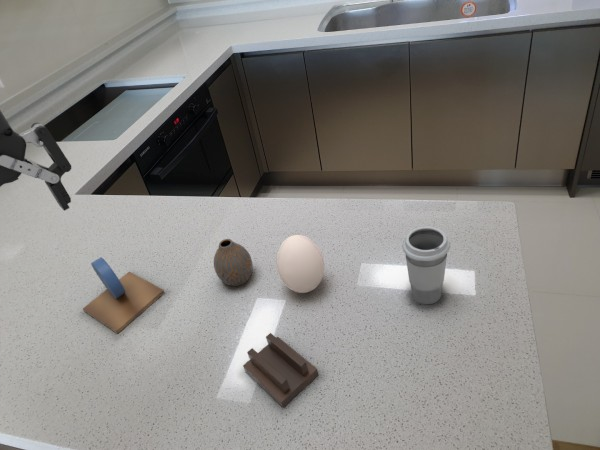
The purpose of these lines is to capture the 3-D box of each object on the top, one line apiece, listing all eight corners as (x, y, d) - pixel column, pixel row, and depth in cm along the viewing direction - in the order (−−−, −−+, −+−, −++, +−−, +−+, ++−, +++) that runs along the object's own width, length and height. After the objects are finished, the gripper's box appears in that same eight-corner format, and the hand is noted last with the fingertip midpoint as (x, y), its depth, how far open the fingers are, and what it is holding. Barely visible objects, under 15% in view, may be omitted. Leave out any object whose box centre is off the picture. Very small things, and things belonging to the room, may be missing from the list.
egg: (337, 283, 81) (328, 234, 74) (305, 311, 77) (292, 262, 70) (306, 265, 86) (295, 217, 79) (274, 290, 82) (260, 242, 75)
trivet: (117, 334, 80) (115, 331, 80) (84, 311, 87) (82, 308, 86) (164, 292, 87) (163, 289, 86) (130, 274, 93) (129, 271, 92)
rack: (283, 408, 64) (277, 392, 61) (245, 371, 70) (238, 355, 67) (318, 374, 67) (314, 358, 65) (279, 342, 73) (274, 326, 71)
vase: (214, 289, 85) (199, 254, 80) (229, 263, 90) (216, 229, 85) (247, 293, 83) (234, 258, 77) (261, 267, 88) (250, 231, 82)
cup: (419, 316, 72) (418, 260, 65) (396, 289, 77) (393, 235, 70) (457, 298, 74) (460, 241, 66) (432, 273, 79) (433, 218, 71)
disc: (119, 305, 87) (111, 288, 80) (96, 274, 89) (87, 256, 83) (128, 298, 88) (121, 281, 81) (105, 268, 90) (97, 250, 84)
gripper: (-137, 138, 40) (-24, 271, 50) (26, 77, 46) (97, 206, 56) (-140, 120, 45) (-37, 244, 55) (8, 67, 51) (76, 187, 61)
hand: (31, 224), depth 55 cm, fingers open, 8 cm apart
